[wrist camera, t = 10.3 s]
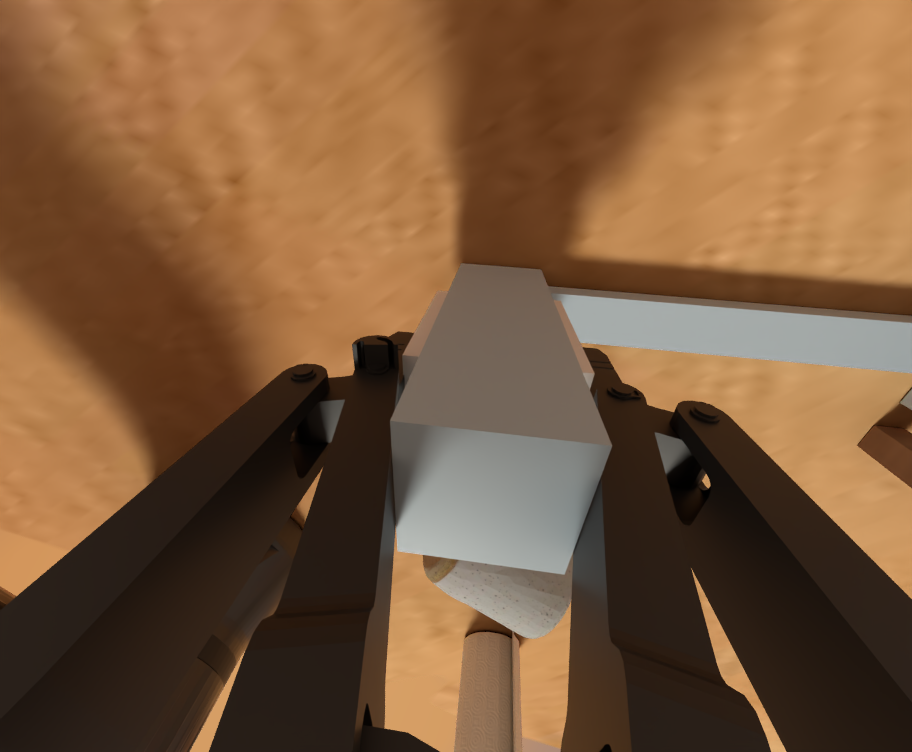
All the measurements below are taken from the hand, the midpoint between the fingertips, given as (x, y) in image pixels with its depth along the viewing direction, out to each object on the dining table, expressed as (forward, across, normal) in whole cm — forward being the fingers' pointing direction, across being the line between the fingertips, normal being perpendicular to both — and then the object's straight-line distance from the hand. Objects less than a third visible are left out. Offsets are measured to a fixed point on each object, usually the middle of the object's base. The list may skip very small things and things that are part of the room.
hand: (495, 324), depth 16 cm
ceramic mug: (+3, -1, +17) cm, 18 cm away
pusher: (+3, -11, 0) cm, 11 cm away
